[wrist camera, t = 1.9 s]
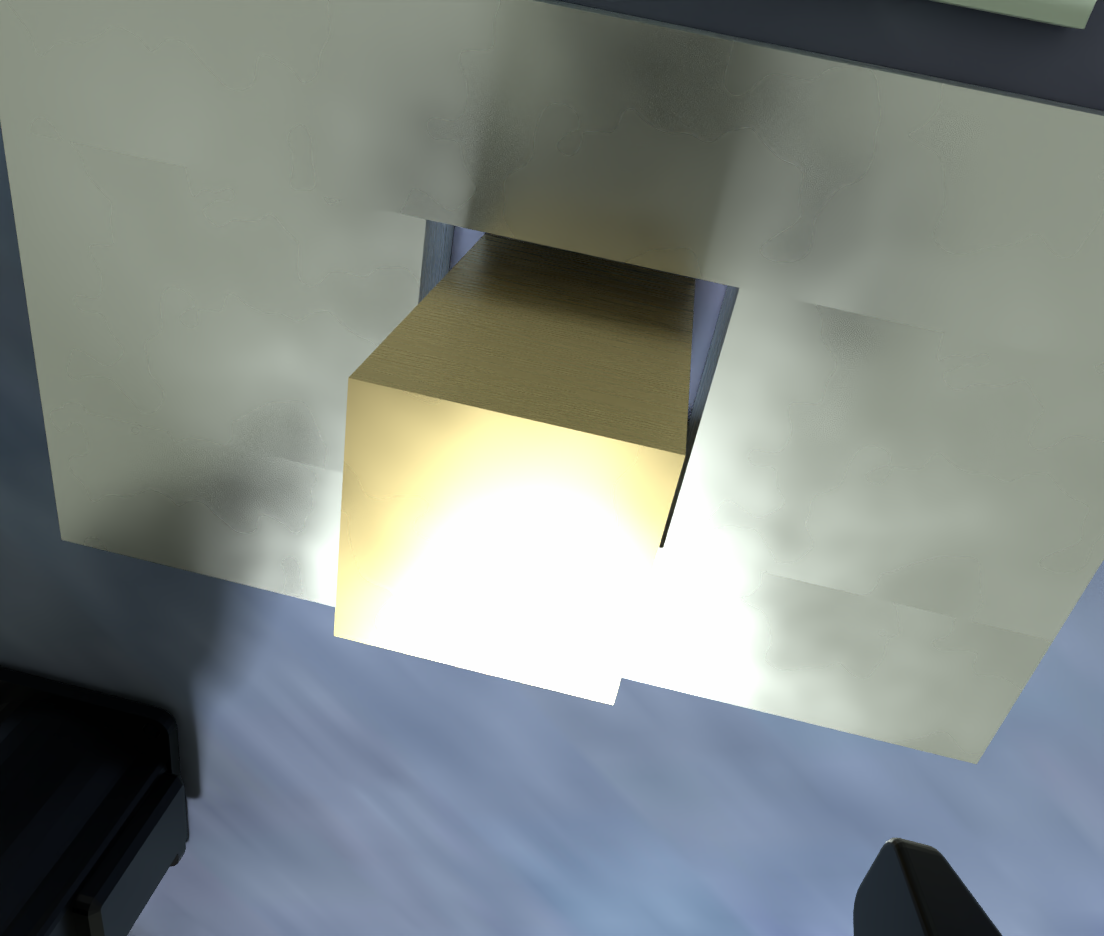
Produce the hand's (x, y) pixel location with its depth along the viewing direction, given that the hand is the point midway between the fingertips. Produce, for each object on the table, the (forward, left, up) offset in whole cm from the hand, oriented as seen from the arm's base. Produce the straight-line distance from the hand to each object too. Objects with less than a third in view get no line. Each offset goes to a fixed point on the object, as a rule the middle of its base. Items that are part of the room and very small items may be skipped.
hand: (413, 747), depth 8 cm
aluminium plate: (0, 0, -10) cm, 10 cm away
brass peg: (0, 0, -10) cm, 10 cm away
